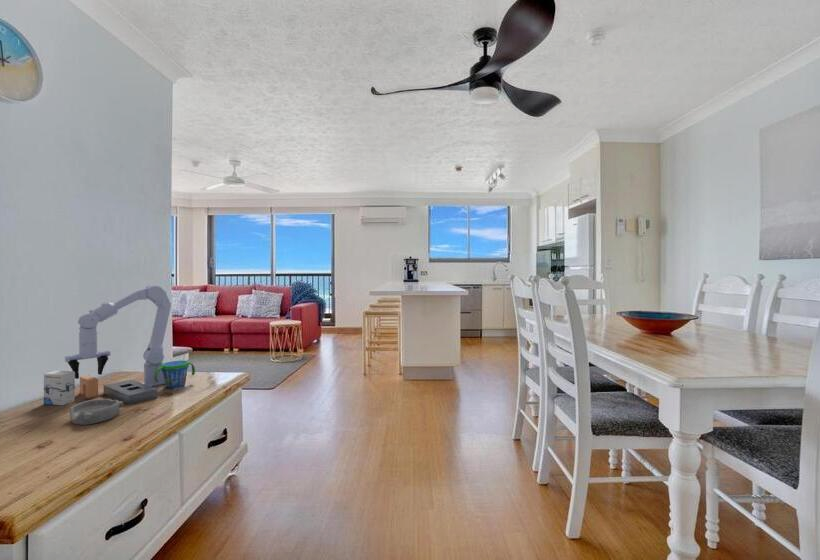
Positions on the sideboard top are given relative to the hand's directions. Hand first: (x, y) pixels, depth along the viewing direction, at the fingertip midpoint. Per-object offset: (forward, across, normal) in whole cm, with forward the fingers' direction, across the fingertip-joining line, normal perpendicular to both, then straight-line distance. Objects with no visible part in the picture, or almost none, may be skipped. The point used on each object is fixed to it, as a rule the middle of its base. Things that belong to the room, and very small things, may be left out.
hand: (88, 376), depth 160 cm
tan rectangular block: (+8, 0, 0) cm, 8 cm away
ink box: (+8, +10, +3) cm, 13 cm away
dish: (+8, +8, +33) cm, 35 cm away
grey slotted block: (+8, -9, +15) cm, 19 cm away
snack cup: (+8, -26, +16) cm, 32 cm away
